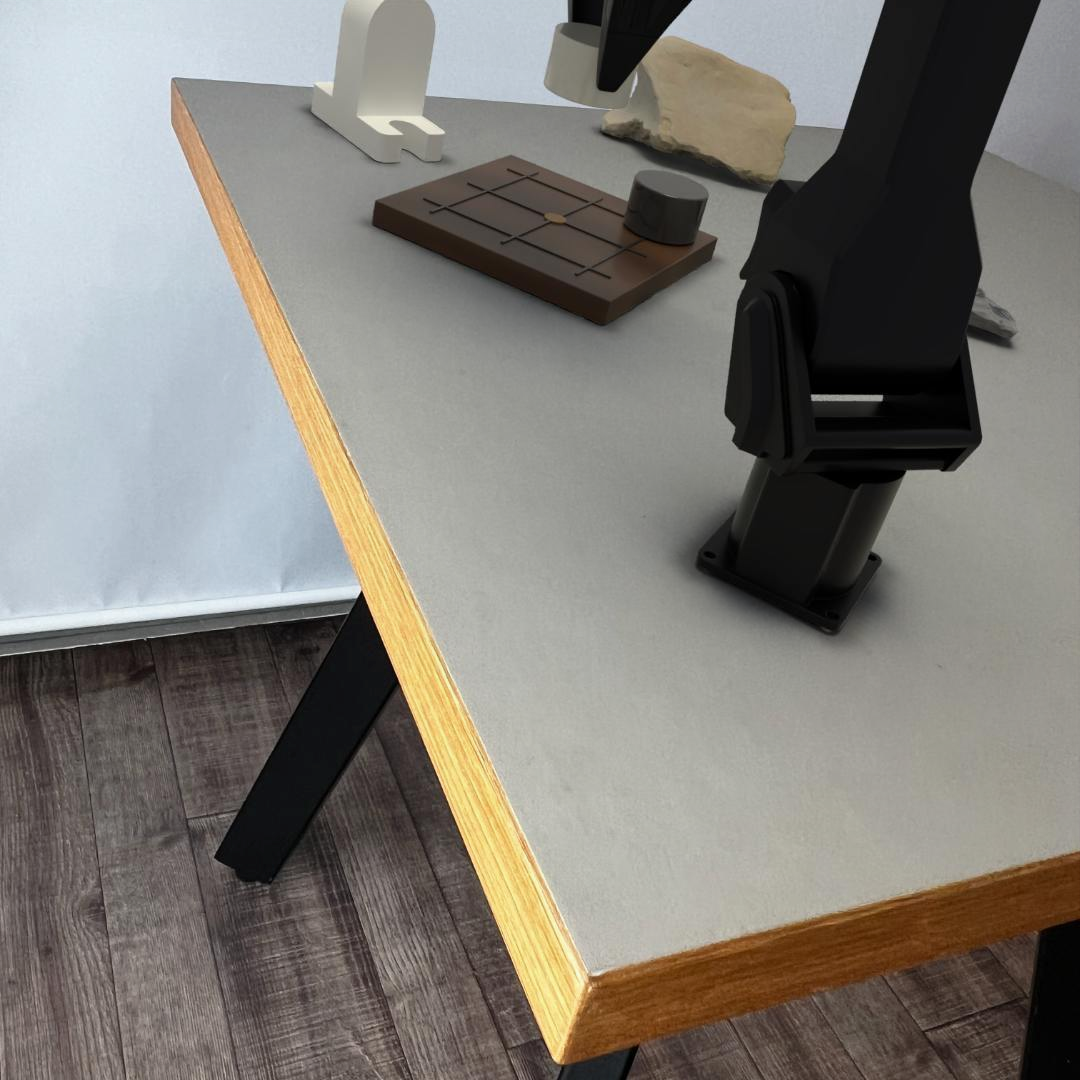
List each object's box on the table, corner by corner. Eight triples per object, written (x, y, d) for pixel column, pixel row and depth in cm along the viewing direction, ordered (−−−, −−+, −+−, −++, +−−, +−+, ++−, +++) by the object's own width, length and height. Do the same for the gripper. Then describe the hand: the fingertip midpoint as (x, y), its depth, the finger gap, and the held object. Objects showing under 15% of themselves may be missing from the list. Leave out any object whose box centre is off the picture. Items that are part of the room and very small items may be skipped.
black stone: (677, 251, 77) (691, 205, 75) (610, 224, 78) (622, 178, 76) (707, 234, 80) (720, 190, 79) (642, 208, 82) (654, 164, 80)
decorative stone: (604, 121, 102) (629, 18, 98) (774, 166, 102) (807, 65, 98) (592, 147, 96) (618, 38, 91) (773, 197, 95) (809, 89, 91)
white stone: (604, 114, 65) (618, 57, 64) (527, 84, 67) (539, 27, 65) (642, 101, 69) (656, 46, 67) (568, 72, 70) (580, 18, 69)
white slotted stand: (371, 109, 92) (391, -34, 86) (444, 161, 86) (470, 10, 80) (308, 109, 89) (324, -40, 83) (378, 162, 83) (400, 6, 77)
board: (603, 326, 69) (610, 299, 68) (371, 224, 74) (375, 198, 73) (711, 258, 81) (719, 235, 80) (506, 175, 86) (511, 152, 85)
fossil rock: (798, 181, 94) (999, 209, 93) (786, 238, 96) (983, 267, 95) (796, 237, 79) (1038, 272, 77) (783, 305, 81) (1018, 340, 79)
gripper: (464, -319, 63) (415, 2, 72) (566, -276, 49) (489, 116, 58) (663, -267, 67) (593, 31, 75) (811, -213, 53) (703, 145, 62)
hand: (591, 74), depth 67 cm, fingers closed on white stone, 5 cm apart
